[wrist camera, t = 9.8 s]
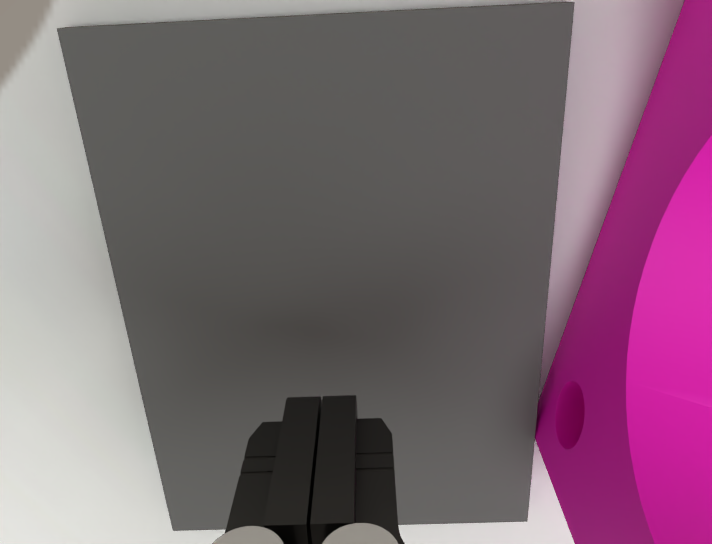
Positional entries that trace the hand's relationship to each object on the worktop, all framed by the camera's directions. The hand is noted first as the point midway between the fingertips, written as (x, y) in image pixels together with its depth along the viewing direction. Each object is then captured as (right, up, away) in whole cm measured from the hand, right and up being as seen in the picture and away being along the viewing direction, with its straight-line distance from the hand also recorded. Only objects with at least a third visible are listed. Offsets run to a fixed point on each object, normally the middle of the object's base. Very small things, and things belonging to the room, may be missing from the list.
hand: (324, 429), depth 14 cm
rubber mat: (0, +2, +5) cm, 5 cm away
